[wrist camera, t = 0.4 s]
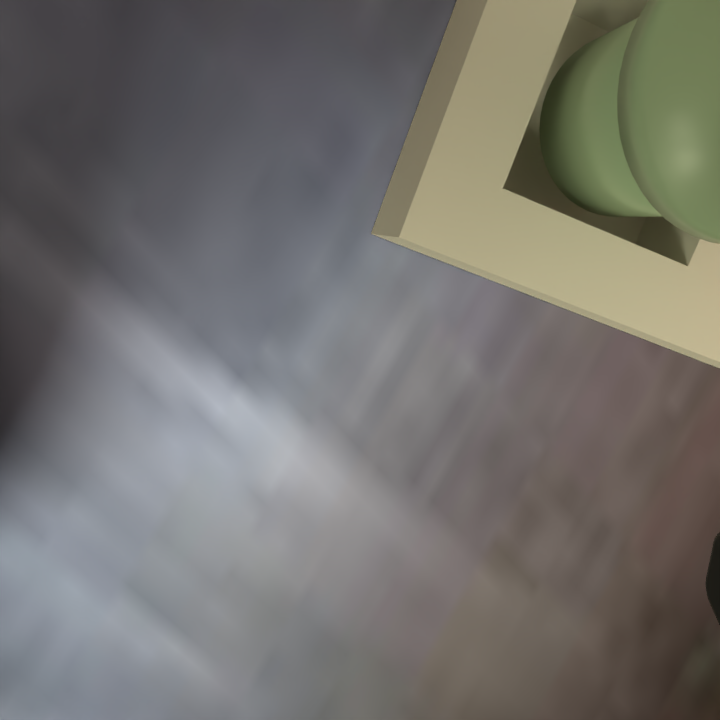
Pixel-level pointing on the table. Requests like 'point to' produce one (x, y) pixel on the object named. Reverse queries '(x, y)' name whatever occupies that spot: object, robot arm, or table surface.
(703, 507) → the table surface
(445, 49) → the button console
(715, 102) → the sage green button
